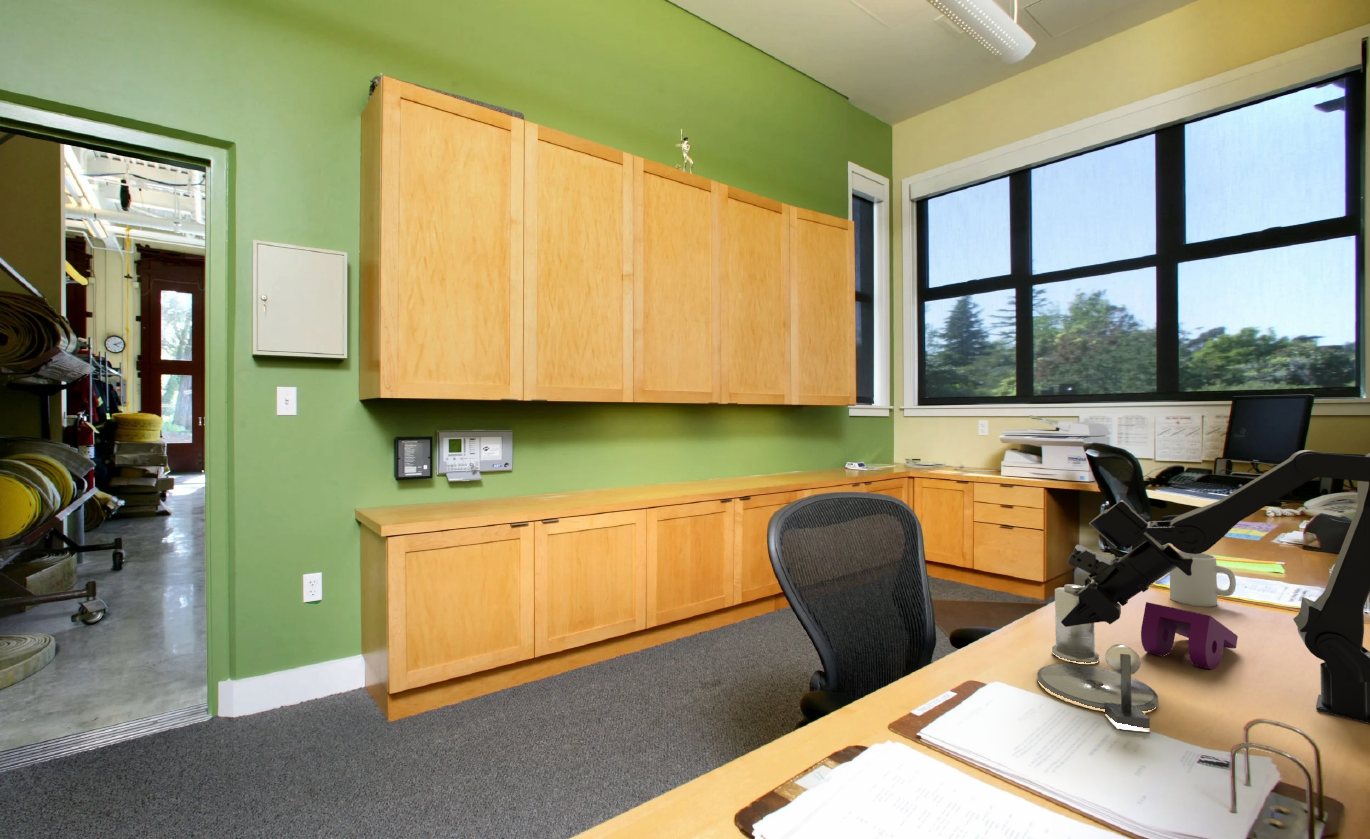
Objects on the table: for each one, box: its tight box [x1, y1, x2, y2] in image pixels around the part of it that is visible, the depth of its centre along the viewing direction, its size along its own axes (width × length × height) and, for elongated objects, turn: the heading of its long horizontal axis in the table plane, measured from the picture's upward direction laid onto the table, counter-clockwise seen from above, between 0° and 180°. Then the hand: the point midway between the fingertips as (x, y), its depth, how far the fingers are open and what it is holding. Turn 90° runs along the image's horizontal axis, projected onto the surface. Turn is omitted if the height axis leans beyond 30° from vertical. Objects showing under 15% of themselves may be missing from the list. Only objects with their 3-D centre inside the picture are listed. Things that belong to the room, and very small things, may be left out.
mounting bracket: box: [1140, 601, 1239, 671], centre depth 110 cm, size 10×8×18 cm
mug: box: [1169, 550, 1237, 608], centre depth 139 cm, size 12×8×11 cm
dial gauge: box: [1104, 643, 1151, 729], centre depth 85 cm, size 4×4×11 cm
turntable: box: [1036, 663, 1159, 711], centre depth 96 cm, size 16×16×1 cm
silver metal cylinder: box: [1051, 583, 1100, 663], centre depth 109 cm, size 7×7×13 cm
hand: (1065, 619), depth 110 cm, fingers open, 6 cm apart
